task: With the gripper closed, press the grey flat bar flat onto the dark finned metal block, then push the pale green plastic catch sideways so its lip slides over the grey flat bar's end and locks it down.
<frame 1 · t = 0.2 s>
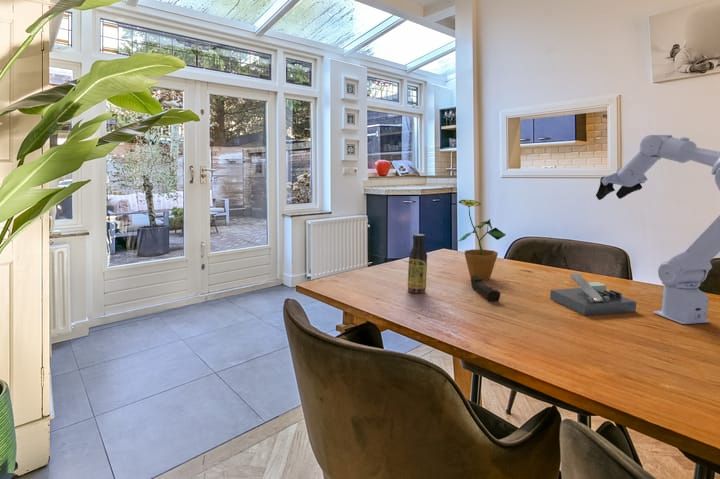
hand: (608, 197, 135), 31 cm above the table, tool tilted 45°, fingers open, 7 cm apart
heatsink block: (590, 305, 124), on the table
sauce bottle: (417, 292, 142), on the table
hand tool: (480, 295, 138), on the table
grey flat bar: (586, 287, 122), point 6 cm above the table, hinge at 25.0°
potted plant: (480, 278, 159), on the table
catch: (591, 287, 129), point 4 cm above the table, slide at 0.0 cm
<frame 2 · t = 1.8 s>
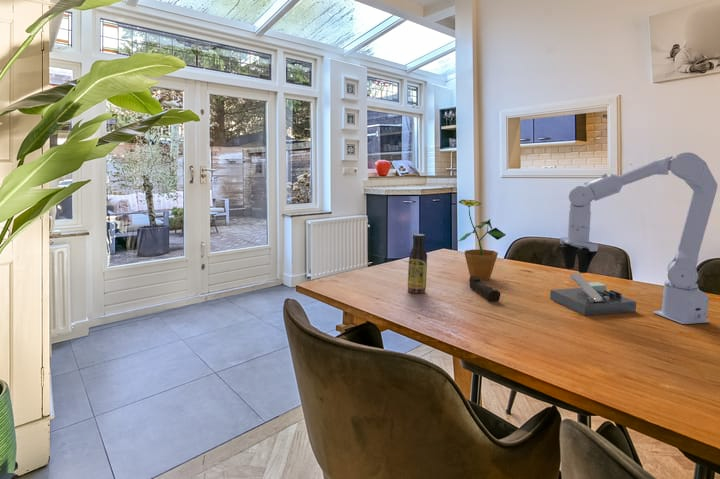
hand: (576, 270, 126), 10 cm above the table, tool pointing down, fingers open, 5 cm apart
nothing on the table moved.
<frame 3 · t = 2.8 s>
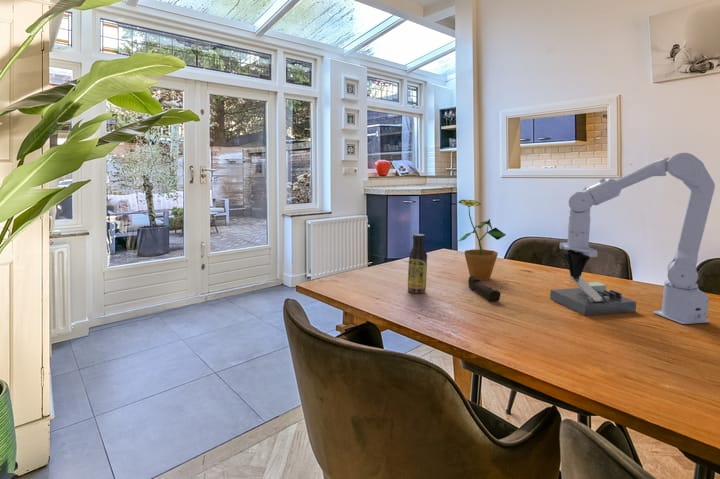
hand: (575, 275, 127), 8 cm above the table, tool pointing down, fingers closed
grey flat bar: (586, 287, 122), point 6 cm above the table, hinge at 23.3°, touching gripper
everything else where it was.
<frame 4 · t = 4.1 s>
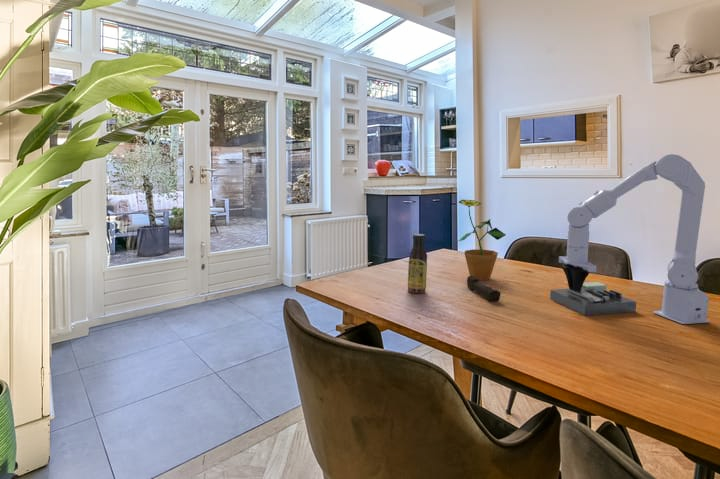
hand: (574, 290, 127), 4 cm above the table, tool pointing down, fingers closed on grey flat bar
grey flat bar: (584, 294, 123), point 4 cm above the table, hinge at 0.4°, touching gripper
everything else where it was.
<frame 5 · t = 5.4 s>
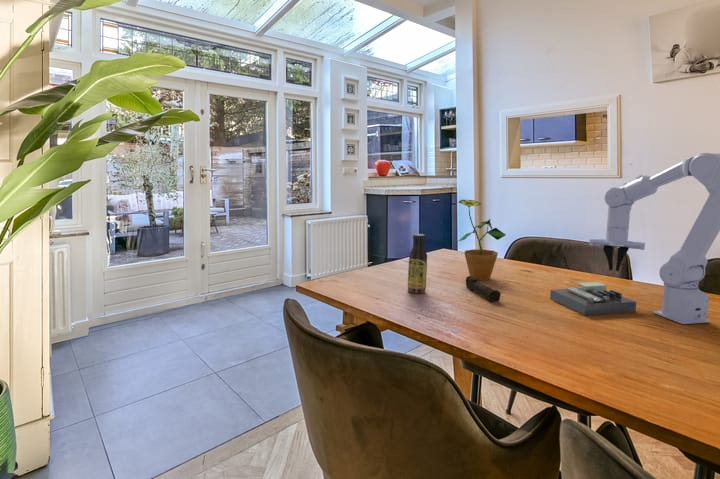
hand: (614, 270, 129), 9 cm above the table, tool pointing down, fingers closed
grey flat bar: (584, 294, 123), point 4 cm above the table, hinge at 0.4°
everything else where it was.
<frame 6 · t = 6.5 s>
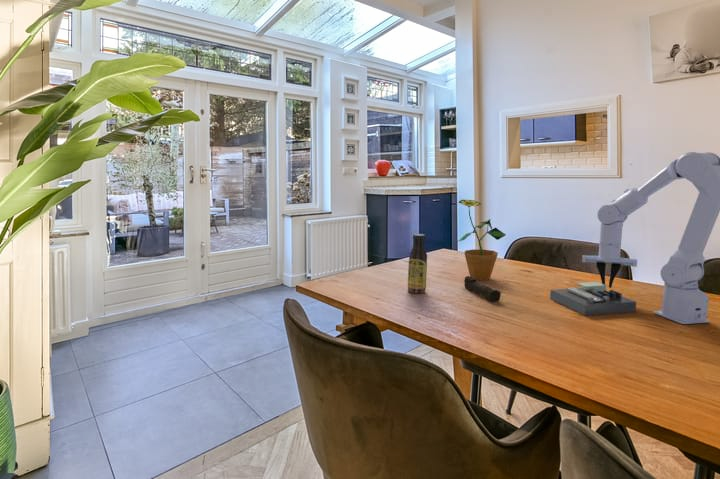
hand: (606, 286, 129), 4 cm above the table, tool pointing down, fingers closed
catch: (591, 287, 129), point 4 cm above the table, slide at 0.0 cm, touching gripper
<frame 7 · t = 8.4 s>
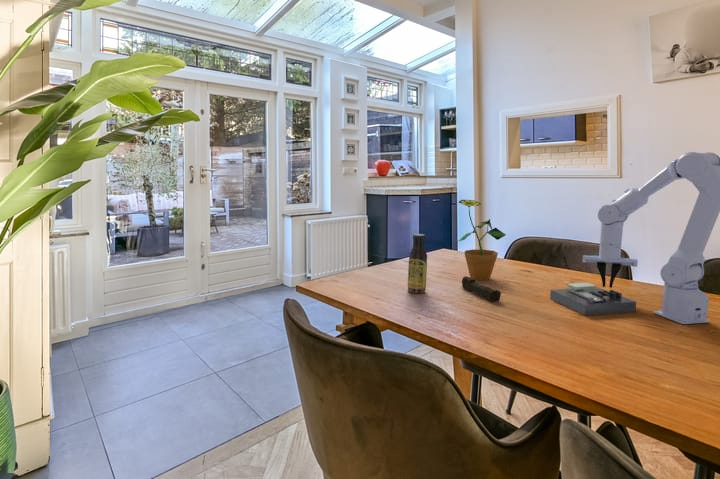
hand: (607, 286, 129), 4 cm above the table, tool pointing down, fingers closed
catch: (581, 287, 128), point 4 cm above the table, slide at 3.5 cm
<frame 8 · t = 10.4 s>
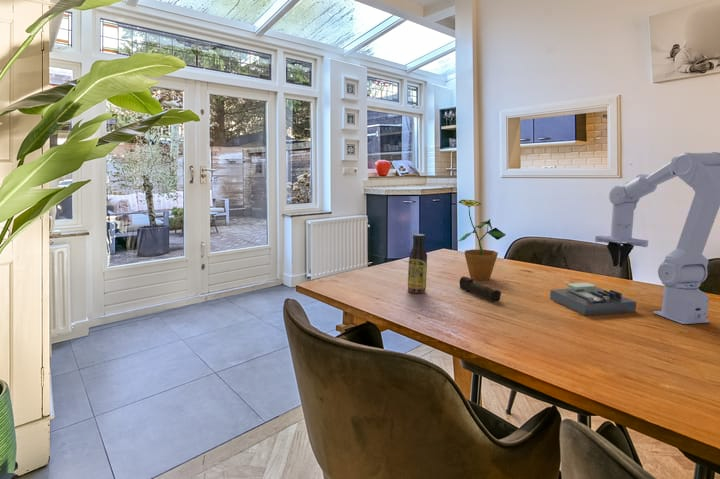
hand: (618, 266, 133), 9 cm above the table, tool pointing down, fingers closed
at the end: grey flat bar at +0° (first picture: +25°); catch slide at 3.5 cm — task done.
